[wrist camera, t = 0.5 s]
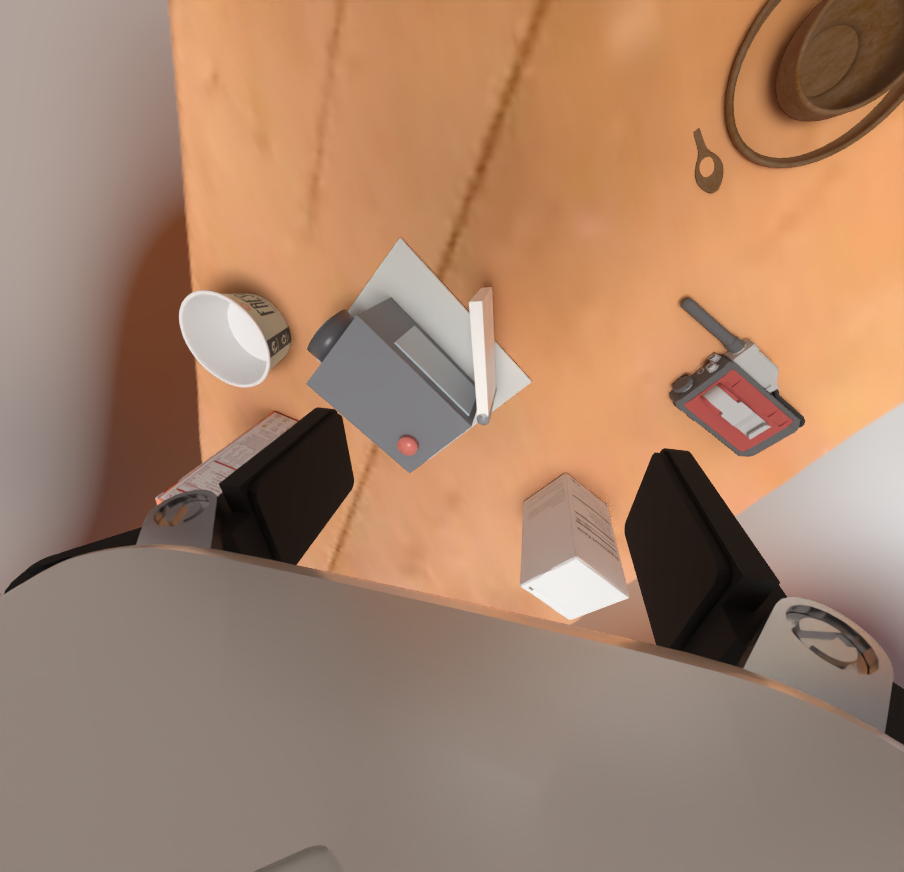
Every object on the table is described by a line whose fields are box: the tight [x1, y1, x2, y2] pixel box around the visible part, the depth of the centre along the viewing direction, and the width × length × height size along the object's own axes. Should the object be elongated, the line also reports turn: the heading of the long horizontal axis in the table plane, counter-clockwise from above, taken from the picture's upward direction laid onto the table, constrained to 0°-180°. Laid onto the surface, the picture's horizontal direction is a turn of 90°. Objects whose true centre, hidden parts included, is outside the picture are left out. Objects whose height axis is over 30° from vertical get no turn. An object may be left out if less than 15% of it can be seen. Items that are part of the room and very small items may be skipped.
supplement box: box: [520, 473, 629, 620], centre depth 45 cm, size 9×9×15 cm
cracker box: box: [156, 411, 298, 505], centre depth 49 cm, size 14×6×21 cm, turn 161°
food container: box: [179, 290, 291, 387], centre depth 43 cm, size 12×12×6 cm
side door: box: [469, 287, 497, 425], centre depth 36 cm, size 13×1×8 cm, turn 7°
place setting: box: [694, 0, 904, 193], centre depth 23 cm, size 18×20×6 cm
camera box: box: [306, 238, 532, 473], centre depth 40 cm, size 22×20×10 cm
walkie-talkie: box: [669, 298, 805, 457], centre depth 35 cm, size 9×4×20 cm
